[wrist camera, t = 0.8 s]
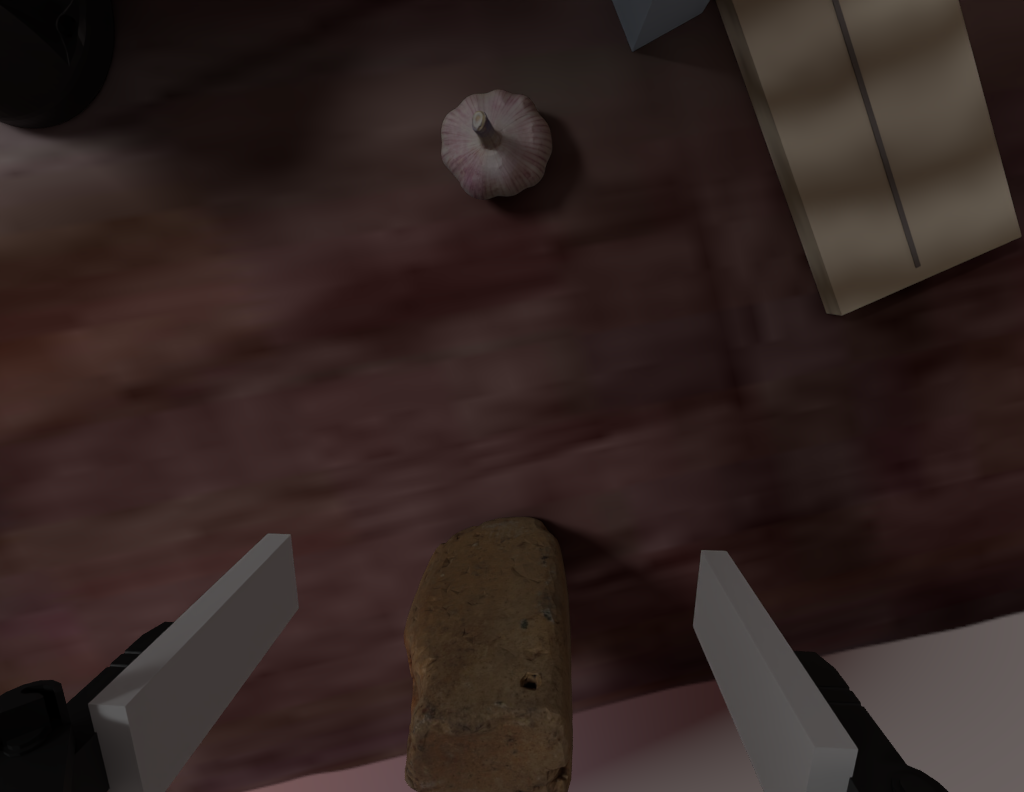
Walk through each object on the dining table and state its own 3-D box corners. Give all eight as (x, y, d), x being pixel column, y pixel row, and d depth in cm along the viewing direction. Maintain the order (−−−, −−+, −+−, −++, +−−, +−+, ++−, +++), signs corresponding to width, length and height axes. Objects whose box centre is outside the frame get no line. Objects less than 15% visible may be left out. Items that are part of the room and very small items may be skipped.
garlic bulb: (427, 166, 37) (396, 137, 29) (483, 73, 35) (466, 15, 27) (512, 227, 37) (504, 215, 29) (570, 139, 36) (578, 100, 28)
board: (674, -117, 32) (682, -144, 30) (864, -233, 30) (887, -270, 28) (826, 313, 37) (842, 315, 35) (995, 238, 35) (1022, 236, 33)
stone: (561, 510, 42) (577, 709, 23) (567, 588, 44) (586, 835, 24) (436, 517, 43) (348, 714, 24) (446, 593, 45) (372, 835, 25)
